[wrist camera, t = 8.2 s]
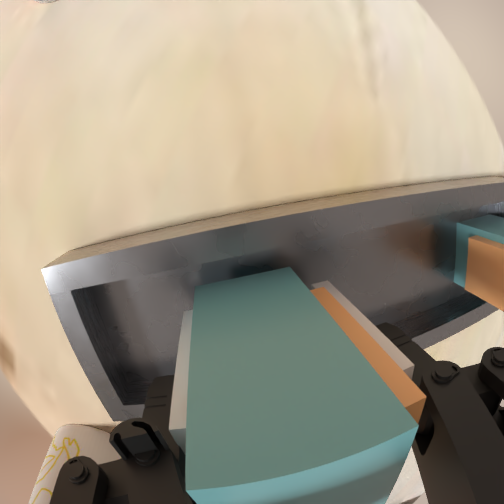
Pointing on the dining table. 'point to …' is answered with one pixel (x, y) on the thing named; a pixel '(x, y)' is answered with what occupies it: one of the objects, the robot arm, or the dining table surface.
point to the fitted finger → (481, 258)
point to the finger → (291, 398)
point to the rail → (267, 259)
